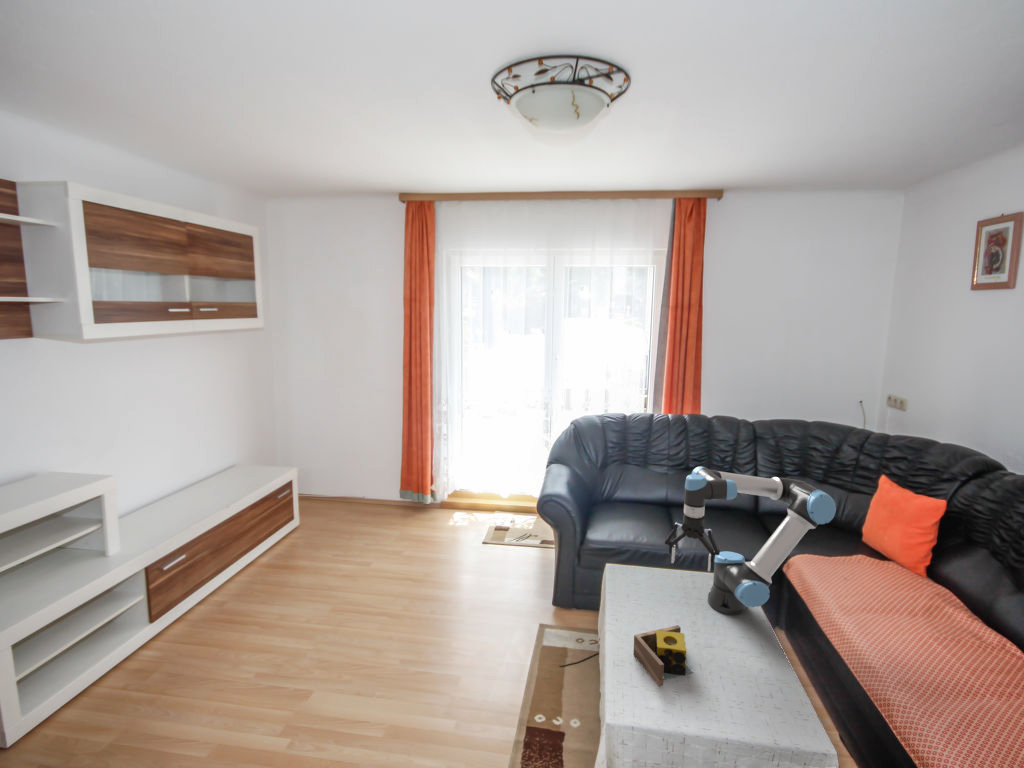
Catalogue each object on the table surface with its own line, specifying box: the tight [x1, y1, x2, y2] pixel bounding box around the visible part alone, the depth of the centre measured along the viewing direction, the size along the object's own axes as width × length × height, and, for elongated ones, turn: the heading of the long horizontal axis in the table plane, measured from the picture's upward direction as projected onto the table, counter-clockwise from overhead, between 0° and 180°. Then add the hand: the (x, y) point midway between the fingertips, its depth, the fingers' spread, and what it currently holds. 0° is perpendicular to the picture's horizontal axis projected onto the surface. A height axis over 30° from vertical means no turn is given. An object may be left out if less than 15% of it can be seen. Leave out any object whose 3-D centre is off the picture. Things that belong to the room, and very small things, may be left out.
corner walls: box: [632, 625, 682, 687], centre depth 183 cm, size 19×16×8 cm
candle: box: [655, 629, 687, 677], centre depth 182 cm, size 10×10×10 cm
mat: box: [663, 664, 694, 680], centre depth 183 cm, size 11×11×1 cm
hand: (690, 565), depth 200 cm, fingers open, 13 cm apart
